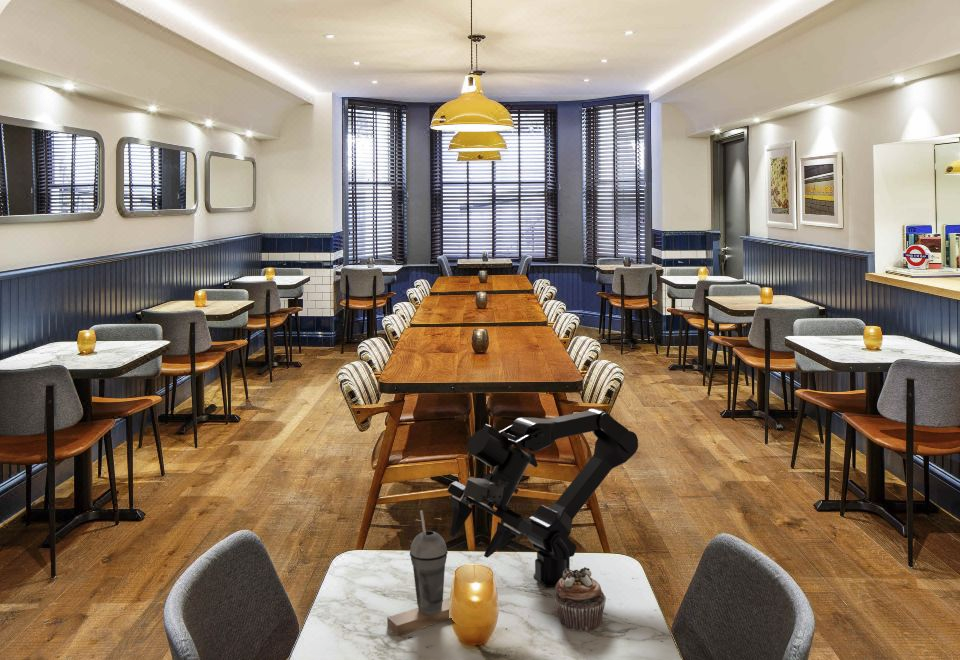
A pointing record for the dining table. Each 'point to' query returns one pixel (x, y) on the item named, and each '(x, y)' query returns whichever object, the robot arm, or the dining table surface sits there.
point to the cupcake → (579, 600)
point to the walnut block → (416, 619)
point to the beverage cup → (428, 569)
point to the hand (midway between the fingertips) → (468, 546)
